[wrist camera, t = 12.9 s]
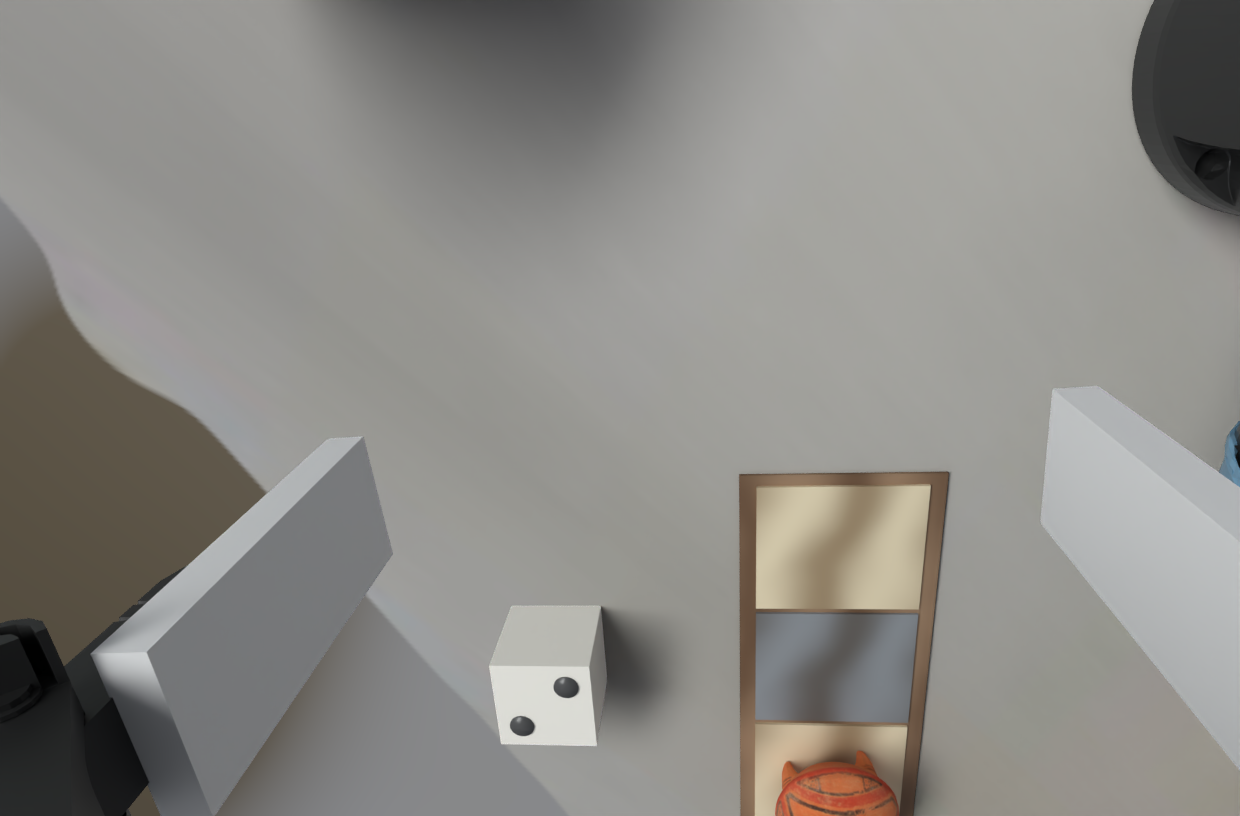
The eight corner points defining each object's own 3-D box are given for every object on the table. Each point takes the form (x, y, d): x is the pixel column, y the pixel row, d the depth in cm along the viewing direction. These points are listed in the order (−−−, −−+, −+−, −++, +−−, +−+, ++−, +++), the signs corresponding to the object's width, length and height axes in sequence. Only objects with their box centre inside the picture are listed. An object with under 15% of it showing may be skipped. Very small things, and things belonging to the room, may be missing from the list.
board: (947, 471, 45) (949, 475, 45) (901, 913, 59) (902, 918, 58) (739, 474, 46) (739, 477, 46) (740, 905, 60) (741, 910, 60)
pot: (819, 707, 51) (858, 801, 45) (894, 748, 54) (940, 841, 48) (737, 776, 54) (764, 874, 48) (813, 811, 57) (848, 907, 51)
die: (600, 605, 51) (588, 667, 45) (607, 678, 53) (596, 747, 48) (511, 605, 52) (488, 666, 46) (521, 677, 54) (501, 745, 48)
